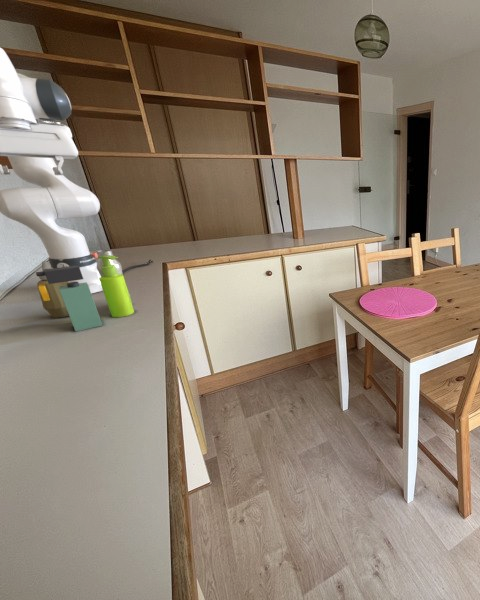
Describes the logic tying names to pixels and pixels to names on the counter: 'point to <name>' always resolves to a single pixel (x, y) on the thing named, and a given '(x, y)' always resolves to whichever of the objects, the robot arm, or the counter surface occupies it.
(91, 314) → the spray bottle
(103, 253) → the plastic bottle
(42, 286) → the block
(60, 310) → the squeeze bottle
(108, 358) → the counter surface
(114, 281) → the soap dispenser
